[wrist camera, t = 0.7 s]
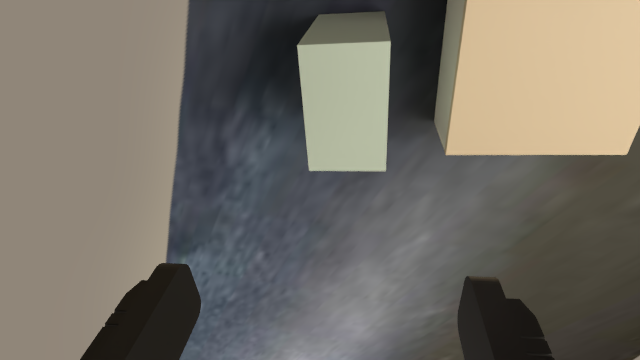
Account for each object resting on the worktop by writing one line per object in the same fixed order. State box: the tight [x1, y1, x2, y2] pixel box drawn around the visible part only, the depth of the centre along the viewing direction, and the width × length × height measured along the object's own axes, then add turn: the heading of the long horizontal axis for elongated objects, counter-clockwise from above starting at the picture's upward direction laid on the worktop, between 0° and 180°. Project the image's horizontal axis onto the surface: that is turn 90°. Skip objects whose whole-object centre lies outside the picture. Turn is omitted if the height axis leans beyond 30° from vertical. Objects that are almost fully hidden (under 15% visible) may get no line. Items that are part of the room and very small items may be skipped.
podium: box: [434, 0, 640, 155], centre depth 25 cm, size 12×12×6 cm
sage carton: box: [297, 11, 391, 171], centre depth 26 cm, size 8×5×10 cm, turn 4°
